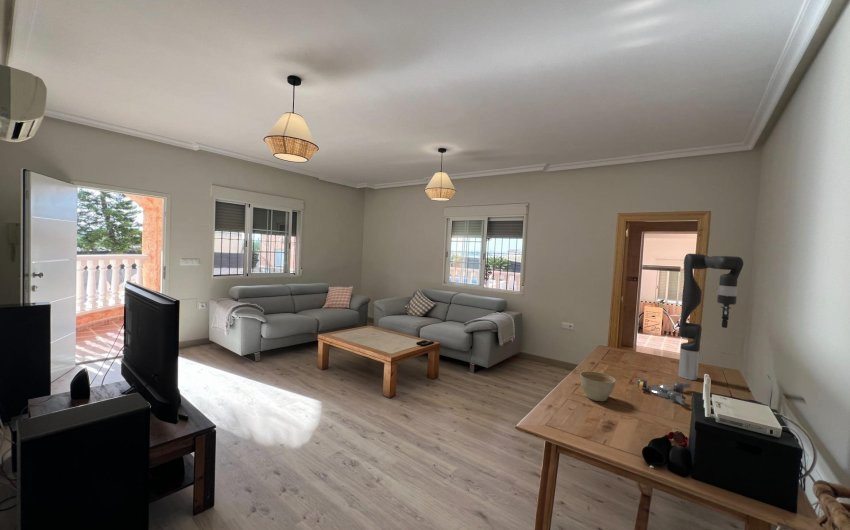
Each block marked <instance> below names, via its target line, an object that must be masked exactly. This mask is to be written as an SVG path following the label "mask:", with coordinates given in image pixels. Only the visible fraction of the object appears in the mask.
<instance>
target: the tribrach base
mask: <svg viewBox="0 0 850 530" xmlns="http://www.w3.org/2000/svg"><path fill="white" fill-rule="evenodd" d="M641 390H645V391H648V393H650V394H652V395H654V396H656V397H659V398H662V399H666V400H667V399H668V400H669V401H670V402H671V403H677V404H678V403H679V402H678V401H674V400H671V399H670V398H669V397H670V391H674V392H678V393H680V394H681V395H680V397H681V398H683V391H678V390H675V389H674V388H672V387H671V386H670V385H668V384H662V383H660V384H659V385H657V384H656V385H655V384H654V385H649V386H648V385H647V387H643V388H642V389H641ZM679 404H680V403H679Z"/></svg>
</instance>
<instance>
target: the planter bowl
mask: <svg viewBox="0 0 850 530" xmlns="http://www.w3.org/2000/svg"><path fill="white" fill-rule="evenodd" d="M579 375H580V377H579V378H580V385H581V388H582V390H583V391H584V393H585V397H587V399H590V400H591V401H597V402H605V401H607V399H608V398H609V397H610V396H611V395H612V393H613V392H614V389H615V387H616V386H615V385H616V383H617V382H616V381H617V380H616V378H615V377H613V376H611V375H609V374H606V373H603V372H598V371H592V370H591V371H581V372H580V374H579Z"/></svg>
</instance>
